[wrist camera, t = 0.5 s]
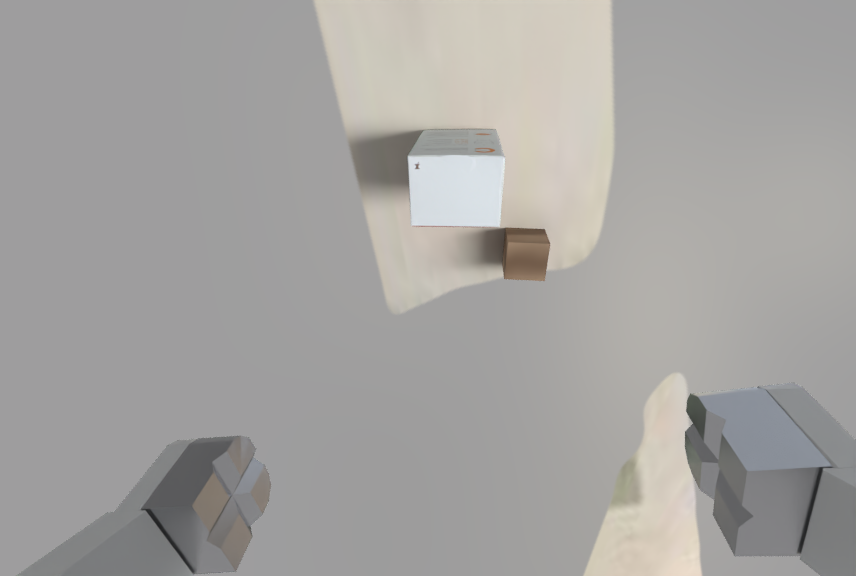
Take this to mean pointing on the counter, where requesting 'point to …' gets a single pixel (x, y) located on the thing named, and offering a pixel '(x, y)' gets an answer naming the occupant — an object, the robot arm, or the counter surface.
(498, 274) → the counter surface
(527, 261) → the walnut cube
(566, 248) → the counter surface
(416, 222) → the small box
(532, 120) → the counter surface
